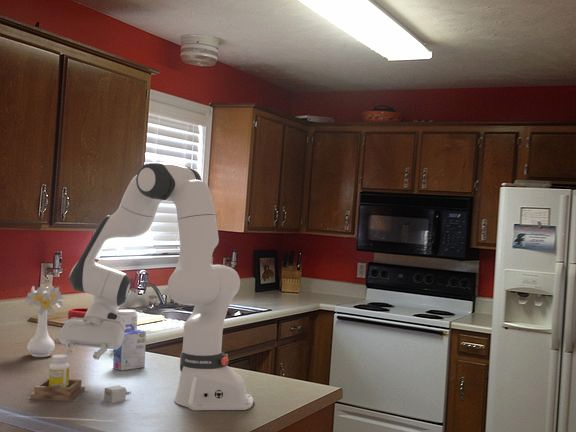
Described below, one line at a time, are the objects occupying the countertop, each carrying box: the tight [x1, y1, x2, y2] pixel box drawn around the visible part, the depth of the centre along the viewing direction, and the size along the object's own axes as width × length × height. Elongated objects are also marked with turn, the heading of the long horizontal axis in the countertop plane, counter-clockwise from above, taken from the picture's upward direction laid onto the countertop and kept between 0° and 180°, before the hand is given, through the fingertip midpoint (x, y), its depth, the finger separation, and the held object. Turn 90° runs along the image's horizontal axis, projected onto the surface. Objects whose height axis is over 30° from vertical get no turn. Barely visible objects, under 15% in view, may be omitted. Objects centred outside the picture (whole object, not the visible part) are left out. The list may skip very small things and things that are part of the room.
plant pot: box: [67, 307, 89, 320], centre depth 278 cm, size 13×13×12 cm
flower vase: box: [23, 283, 65, 358], centre depth 244 cm, size 13×18×25 cm
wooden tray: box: [29, 377, 86, 401], centre depth 195 cm, size 12×10×3 cm
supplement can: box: [116, 308, 138, 332], centre depth 261 cm, size 8×8×15 cm
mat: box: [26, 390, 89, 402], centre depth 195 cm, size 14×11×1 cm
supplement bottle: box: [48, 354, 70, 388], centre depth 195 cm, size 5×5×10 cm
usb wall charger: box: [103, 385, 132, 404], centre depth 194 cm, size 4×7×4 cm, turn 139°
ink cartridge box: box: [112, 324, 147, 372], centre depth 233 cm, size 10×6×14 cm, turn 137°
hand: (81, 356), depth 207 cm, fingers open, 8 cm apart
